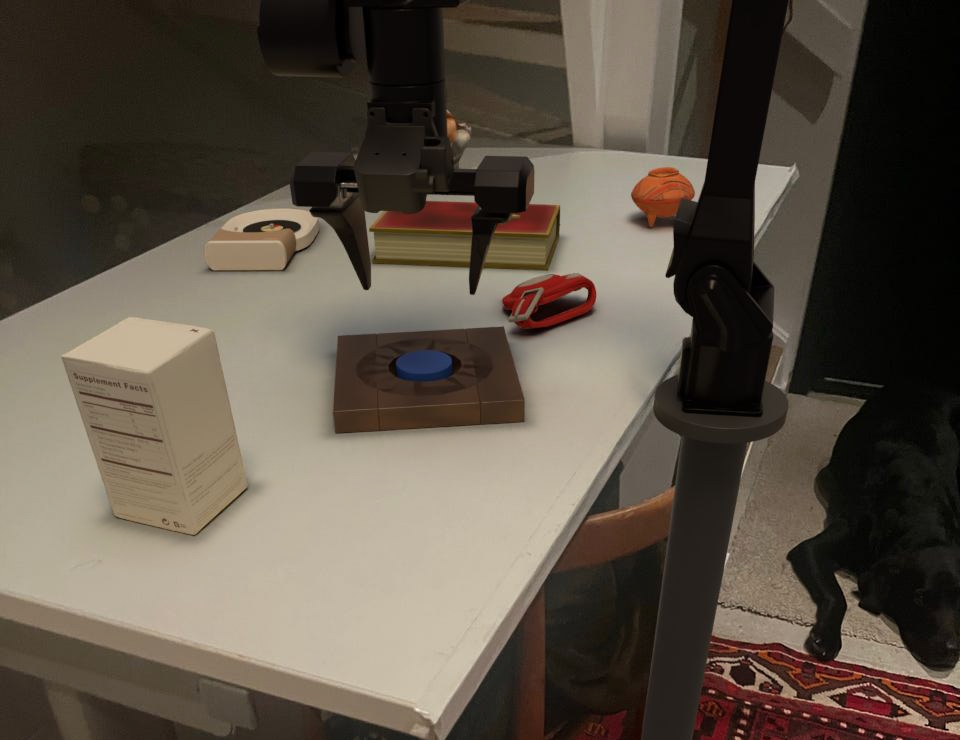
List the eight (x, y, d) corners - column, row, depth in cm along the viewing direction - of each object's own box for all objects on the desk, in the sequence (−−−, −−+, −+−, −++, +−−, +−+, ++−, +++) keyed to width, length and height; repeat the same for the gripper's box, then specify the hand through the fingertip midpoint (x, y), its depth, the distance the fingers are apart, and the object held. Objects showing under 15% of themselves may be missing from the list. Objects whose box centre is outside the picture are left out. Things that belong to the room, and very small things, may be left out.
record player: (193, 243, 107) (236, 196, 122) (198, 270, 109) (240, 221, 124) (292, 242, 106) (323, 195, 122) (296, 270, 108) (326, 220, 124)
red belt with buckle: (490, 287, 100) (579, 257, 99) (502, 327, 102) (589, 298, 101) (504, 301, 89) (604, 267, 89) (517, 346, 91) (614, 314, 91)
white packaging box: (172, 470, 73) (129, 313, 65) (251, 488, 71) (217, 326, 63) (110, 518, 68) (56, 353, 60) (193, 538, 66) (149, 370, 58)
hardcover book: (396, 231, 119) (394, 196, 116) (559, 237, 116) (560, 201, 113) (372, 262, 110) (368, 225, 107) (547, 270, 107) (548, 232, 104)
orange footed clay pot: (684, 231, 115) (678, 173, 111) (626, 238, 119) (618, 182, 115) (706, 212, 120) (700, 155, 116) (650, 219, 124) (642, 165, 120)
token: (457, 376, 86) (456, 351, 84) (447, 400, 82) (445, 374, 80) (405, 373, 86) (403, 348, 85) (392, 397, 83) (390, 371, 81)
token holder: (503, 346, 91) (503, 326, 89) (524, 421, 79) (524, 400, 77) (340, 355, 90) (337, 335, 88) (335, 433, 78) (332, 411, 76)
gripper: (248, 99, 64) (284, 322, 74) (516, 103, 61) (515, 333, 71) (299, 70, 72) (325, 274, 82) (537, 72, 70) (533, 282, 80)
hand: (419, 291), depth 79 cm, fingers open, 9 cm apart
